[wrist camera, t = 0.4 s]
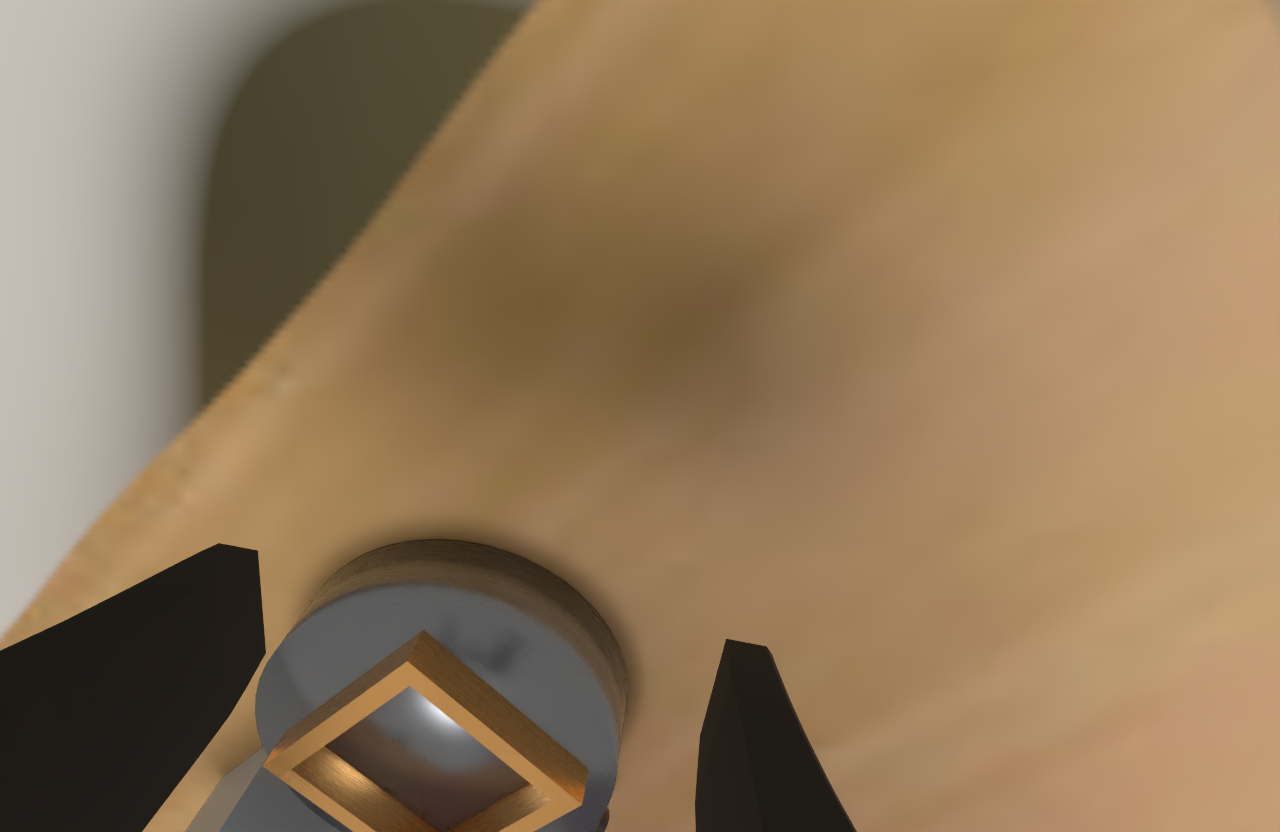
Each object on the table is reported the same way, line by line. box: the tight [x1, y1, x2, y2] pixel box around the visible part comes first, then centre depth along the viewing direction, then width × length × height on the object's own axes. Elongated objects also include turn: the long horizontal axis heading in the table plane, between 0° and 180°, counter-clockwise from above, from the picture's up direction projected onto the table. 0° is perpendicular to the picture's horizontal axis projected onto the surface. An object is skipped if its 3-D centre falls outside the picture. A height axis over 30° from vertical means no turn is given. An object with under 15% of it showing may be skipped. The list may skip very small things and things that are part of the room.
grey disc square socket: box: [255, 540, 628, 832], centre depth 23 cm, size 12×11×4 cm
